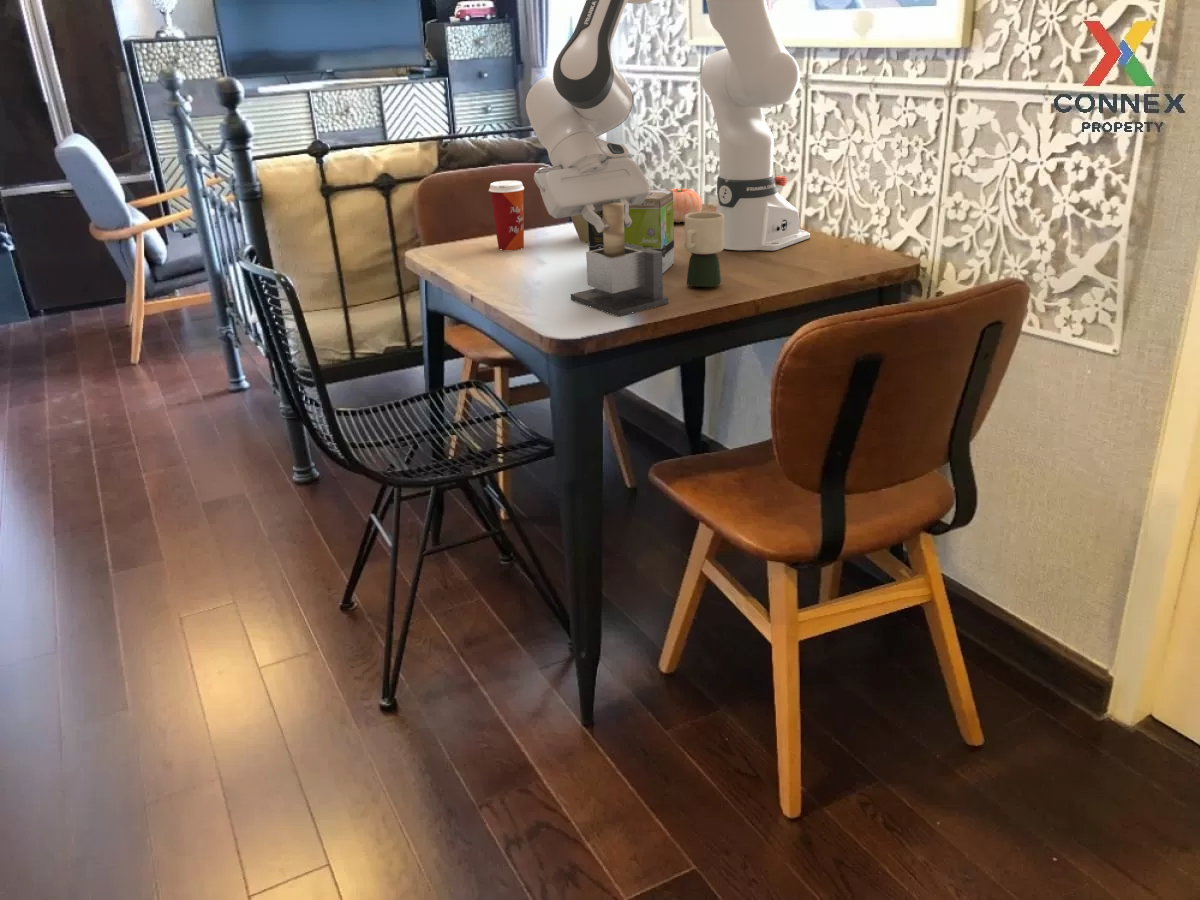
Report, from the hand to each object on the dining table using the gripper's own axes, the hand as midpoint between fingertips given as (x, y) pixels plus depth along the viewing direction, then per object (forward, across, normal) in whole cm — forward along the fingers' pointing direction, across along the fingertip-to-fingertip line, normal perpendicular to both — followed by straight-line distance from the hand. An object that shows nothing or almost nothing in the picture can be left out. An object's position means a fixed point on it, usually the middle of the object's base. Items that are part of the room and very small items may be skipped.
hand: (615, 227), depth 159 cm
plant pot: (-21, +27, +40) cm, 53 cm away
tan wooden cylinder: (+3, 0, +4) cm, 5 cm away
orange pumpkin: (-22, +53, +41) cm, 71 cm away
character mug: (+11, +18, +8) cm, 23 cm away
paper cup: (-26, +9, +45) cm, 53 cm away
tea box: (-3, +17, +22) cm, 28 cm away
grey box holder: (+9, 0, +10) cm, 13 cm away
